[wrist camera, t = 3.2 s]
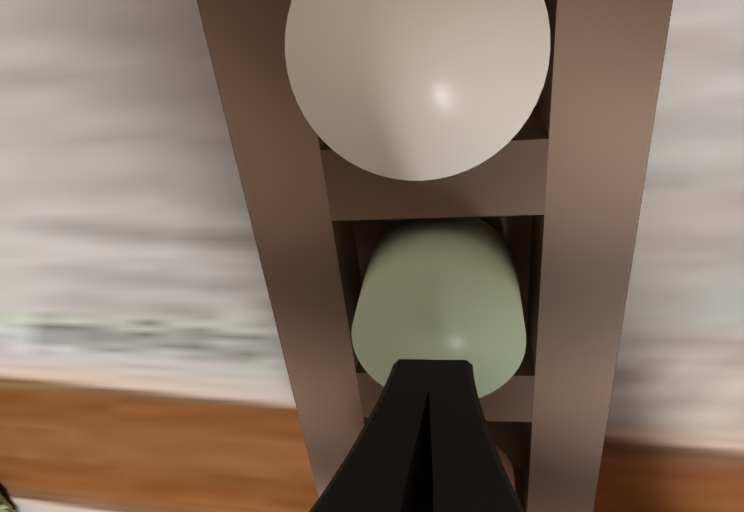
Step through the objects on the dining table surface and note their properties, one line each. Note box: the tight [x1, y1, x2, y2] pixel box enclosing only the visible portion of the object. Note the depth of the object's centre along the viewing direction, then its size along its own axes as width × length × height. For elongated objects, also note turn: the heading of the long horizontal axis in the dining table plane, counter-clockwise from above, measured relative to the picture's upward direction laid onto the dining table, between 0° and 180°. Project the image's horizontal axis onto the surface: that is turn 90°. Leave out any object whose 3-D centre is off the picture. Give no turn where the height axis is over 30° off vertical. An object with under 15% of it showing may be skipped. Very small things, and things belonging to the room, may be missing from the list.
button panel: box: [197, 0, 673, 512], centre depth 14 cm, size 19×8×3 cm, turn 6°
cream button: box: [285, 0, 550, 181], centre depth 9 cm, size 4×4×2 cm
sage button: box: [351, 217, 526, 398], centre depth 13 cm, size 4×4×2 cm
